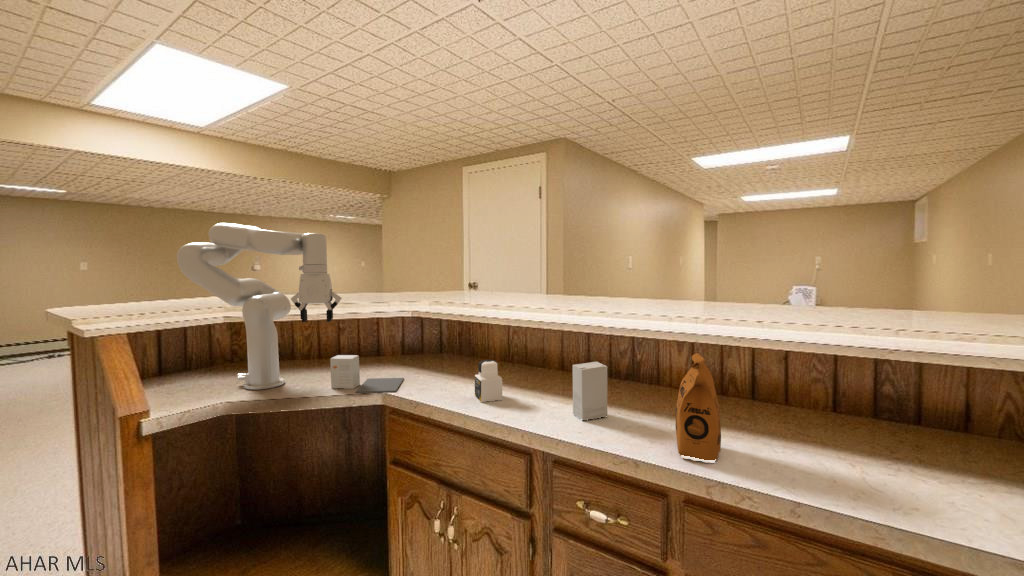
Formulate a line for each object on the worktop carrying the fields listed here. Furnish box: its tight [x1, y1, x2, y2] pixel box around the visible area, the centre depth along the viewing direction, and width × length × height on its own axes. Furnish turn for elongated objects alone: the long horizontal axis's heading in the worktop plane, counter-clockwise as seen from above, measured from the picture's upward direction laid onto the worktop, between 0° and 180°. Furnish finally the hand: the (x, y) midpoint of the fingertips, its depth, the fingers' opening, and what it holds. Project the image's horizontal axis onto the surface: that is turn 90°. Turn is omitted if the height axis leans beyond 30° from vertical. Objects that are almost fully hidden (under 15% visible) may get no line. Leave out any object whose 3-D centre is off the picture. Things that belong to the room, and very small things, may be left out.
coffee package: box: [674, 352, 722, 460], centre depth 106 cm, size 10×12×22 cm
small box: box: [329, 354, 361, 390], centre depth 161 cm, size 8×6×10 cm
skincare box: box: [572, 361, 608, 421], centre depth 130 cm, size 8×6×15 cm
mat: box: [355, 377, 405, 394], centre depth 162 cm, size 13×16×1 cm
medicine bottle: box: [474, 359, 503, 403], centre depth 147 cm, size 7×7×12 cm
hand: (317, 321), depth 159 cm, fingers open, 7 cm apart
